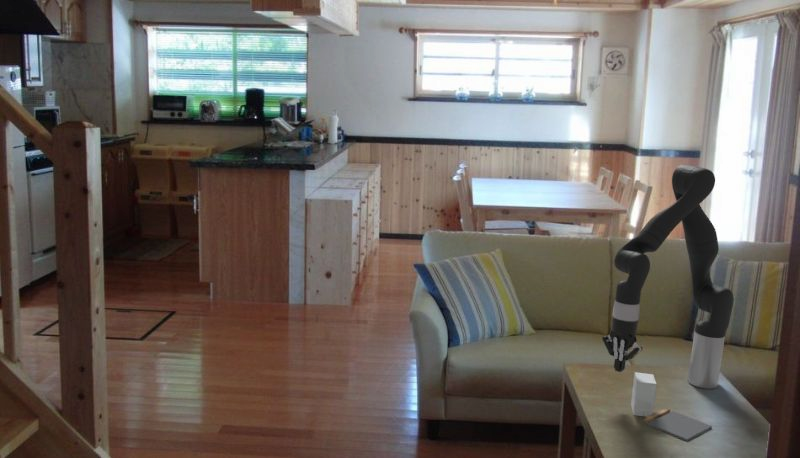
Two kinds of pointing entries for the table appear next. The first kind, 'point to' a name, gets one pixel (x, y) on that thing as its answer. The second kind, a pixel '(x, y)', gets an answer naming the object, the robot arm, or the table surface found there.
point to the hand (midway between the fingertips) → (618, 370)
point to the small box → (643, 394)
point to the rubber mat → (679, 425)
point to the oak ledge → (657, 415)
